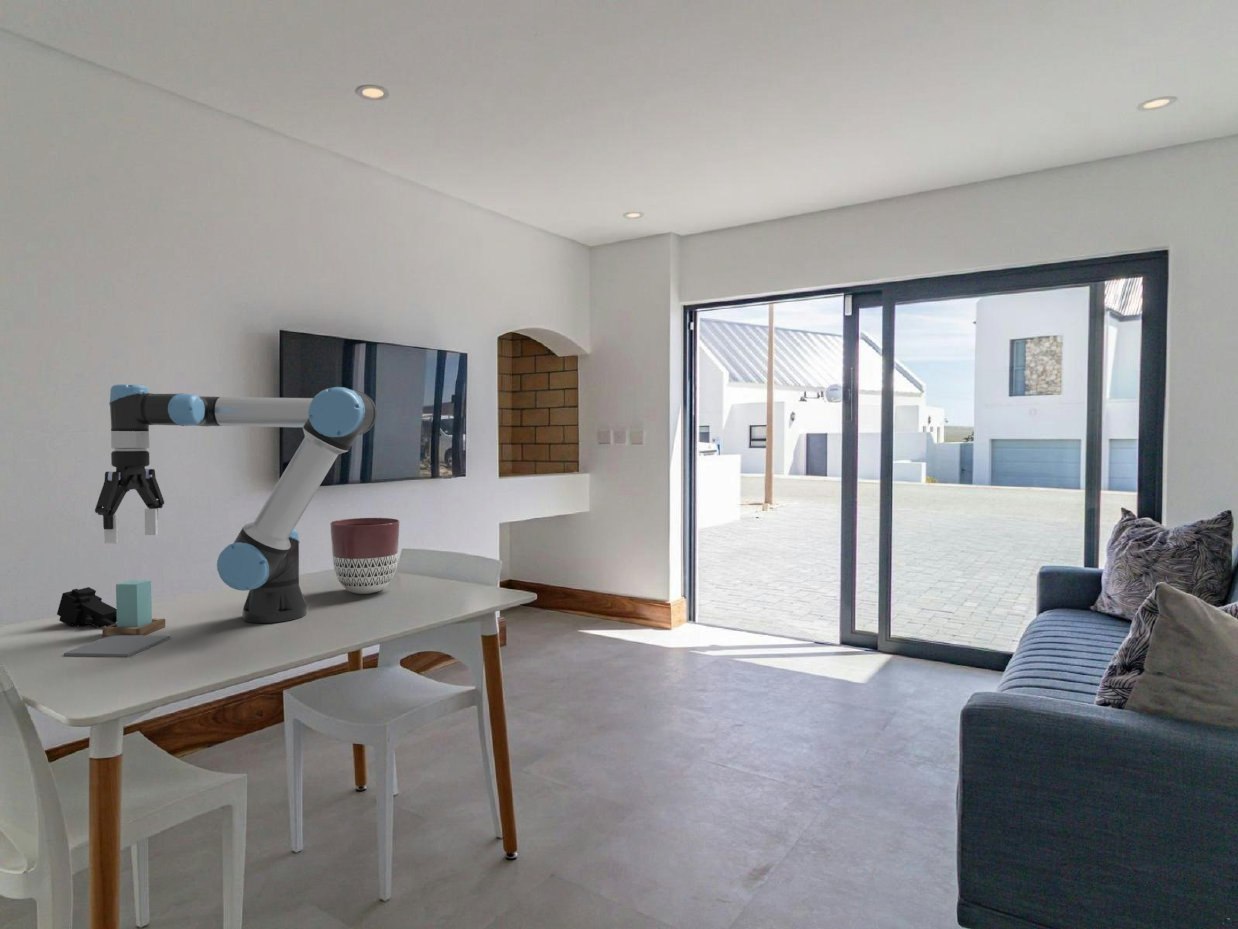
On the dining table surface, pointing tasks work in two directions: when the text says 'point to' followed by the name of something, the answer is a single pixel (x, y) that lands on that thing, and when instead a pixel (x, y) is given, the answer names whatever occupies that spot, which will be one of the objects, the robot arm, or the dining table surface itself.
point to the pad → (118, 645)
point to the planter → (365, 552)
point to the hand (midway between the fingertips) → (132, 539)
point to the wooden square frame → (134, 629)
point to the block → (133, 603)
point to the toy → (85, 609)
